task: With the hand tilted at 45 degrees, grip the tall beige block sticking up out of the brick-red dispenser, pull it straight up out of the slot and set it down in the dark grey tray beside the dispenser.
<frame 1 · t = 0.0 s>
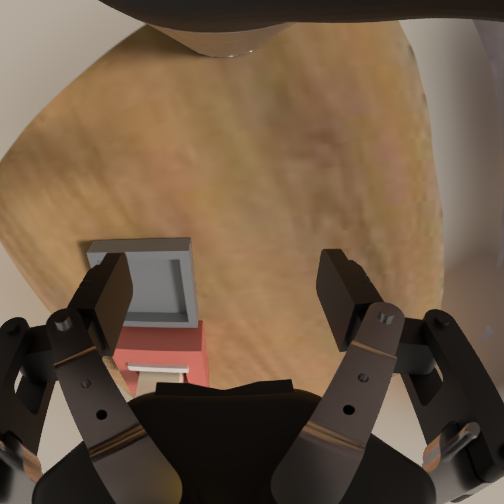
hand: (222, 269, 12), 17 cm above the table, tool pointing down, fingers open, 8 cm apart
dispenser: (165, 348, 41), on the table
tray: (147, 279, 34), on the table
tall beige block: (165, 348, 41), resting in dispenser
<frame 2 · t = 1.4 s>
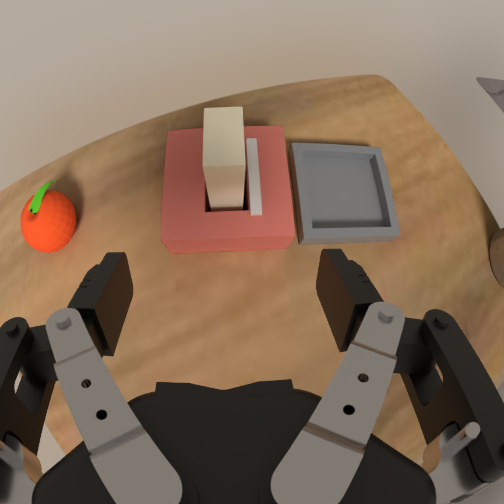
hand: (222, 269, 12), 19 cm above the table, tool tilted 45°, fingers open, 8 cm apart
dispenser: (227, 197, 33), on the table
tray: (340, 196, 34), on the table
clementine: (64, 226, 31), on the table
tall beige block: (227, 198, 33), resting in dispenser
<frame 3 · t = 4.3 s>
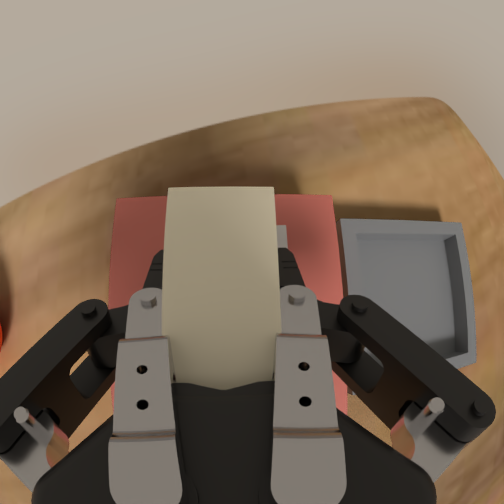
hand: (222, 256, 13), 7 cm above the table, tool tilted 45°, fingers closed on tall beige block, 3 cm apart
dispenser: (226, 314, 19), on the table
tray: (403, 302, 20), on the table
tall beige block: (225, 314, 19), resting in dispenser, touching gripper
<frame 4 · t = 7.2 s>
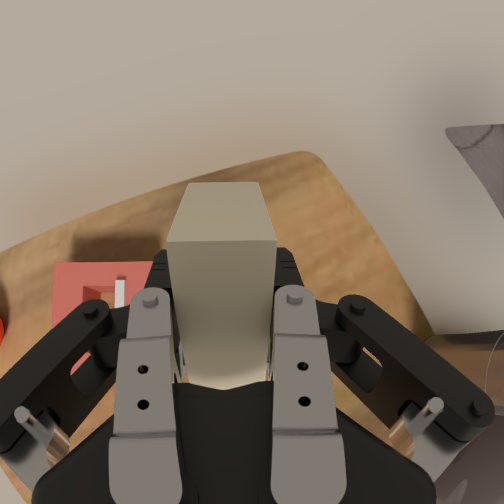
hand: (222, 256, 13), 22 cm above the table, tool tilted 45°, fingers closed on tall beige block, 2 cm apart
dispenser: (114, 321, 32), on the table
tall beige block: (229, 400, 16), point 16 cm above the table, tilted 46°, touching gripper
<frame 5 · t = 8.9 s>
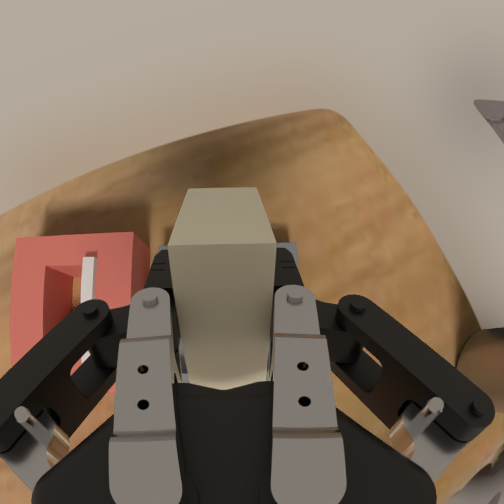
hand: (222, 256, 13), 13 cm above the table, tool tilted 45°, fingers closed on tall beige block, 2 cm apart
dispenser: (89, 314, 24), on the table
tray: (229, 315, 25), on the table
tall beige block: (229, 404, 16), point 8 cm above the table, tilted 48°, touching gripper
when the fingers open (9 cm above the table, at t = 10.0 s): tall beige block stays where it is and tips over, resting on tray.
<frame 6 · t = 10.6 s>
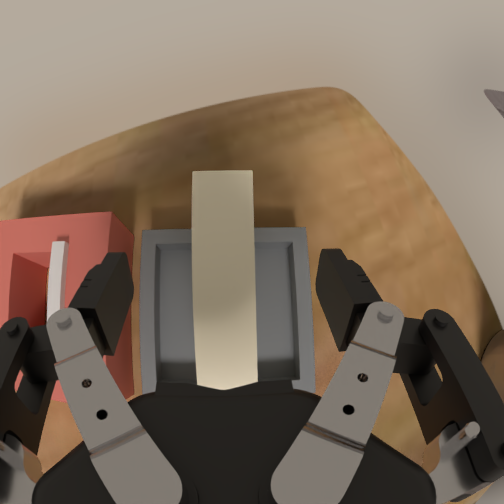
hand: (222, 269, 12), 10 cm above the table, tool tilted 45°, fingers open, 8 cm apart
dispenser: (63, 311, 20), on the table
tray: (225, 314, 21), on the table
tall beige block: (228, 389, 17), point 4 cm above the table, tilted 80°, touching tray
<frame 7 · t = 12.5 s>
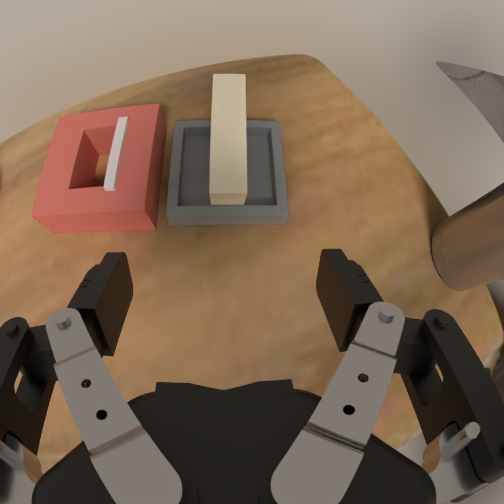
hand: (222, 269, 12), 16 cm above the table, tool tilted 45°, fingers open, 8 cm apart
dispenser: (108, 179, 30), on the table
tray: (226, 174, 31), on the table
tall beige block: (227, 201, 26), point 4 cm above the table, tilted 80°, touching tray
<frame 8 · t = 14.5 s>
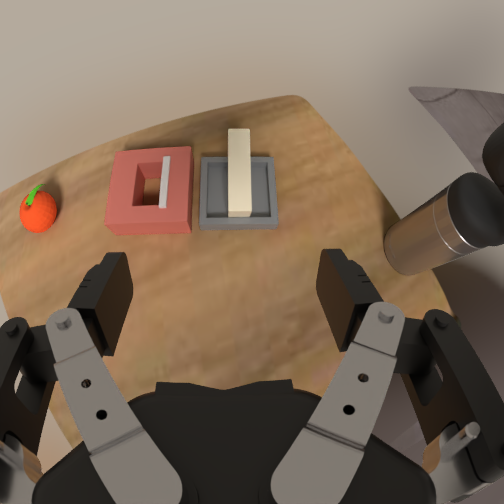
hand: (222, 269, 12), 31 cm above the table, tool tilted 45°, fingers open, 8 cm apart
dispenser: (155, 197, 45), on the table
tray: (237, 195, 46), on the table
clementine: (49, 216, 43), on the table
tall beige block: (239, 215, 42), point 4 cm above the table, tilted 80°, touching tray
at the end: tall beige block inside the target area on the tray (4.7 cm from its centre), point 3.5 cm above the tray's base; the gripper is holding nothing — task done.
